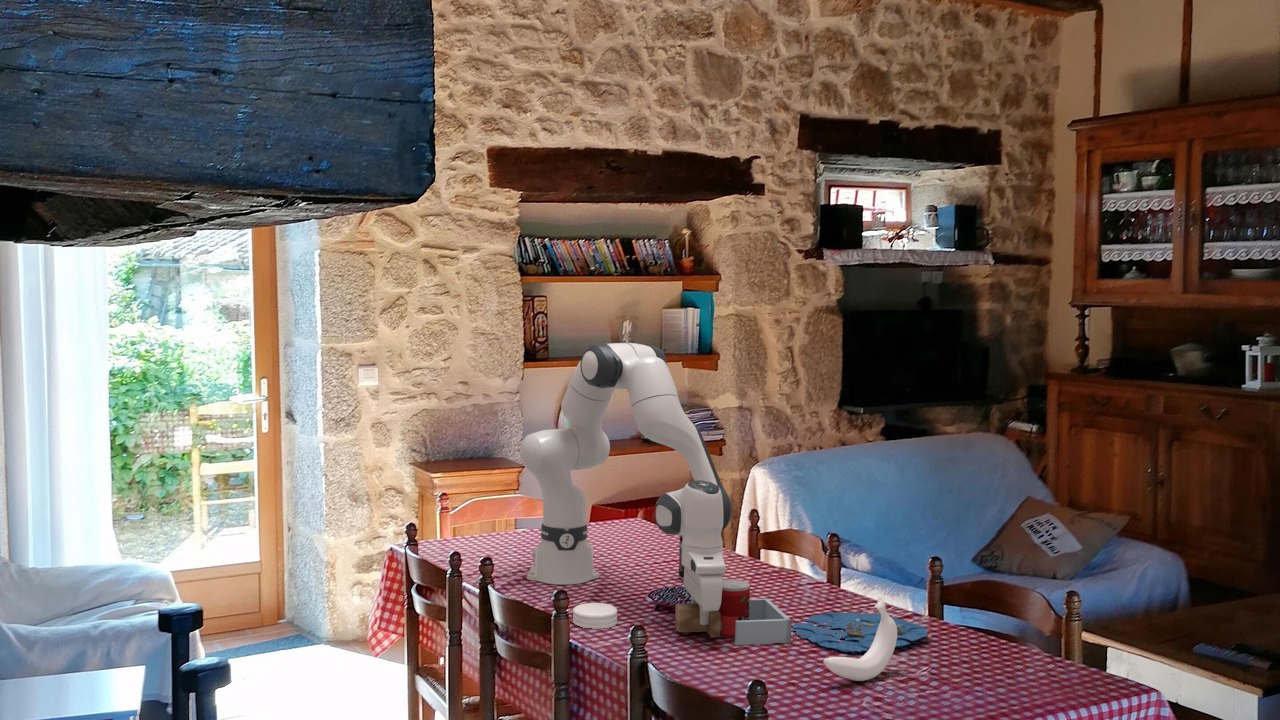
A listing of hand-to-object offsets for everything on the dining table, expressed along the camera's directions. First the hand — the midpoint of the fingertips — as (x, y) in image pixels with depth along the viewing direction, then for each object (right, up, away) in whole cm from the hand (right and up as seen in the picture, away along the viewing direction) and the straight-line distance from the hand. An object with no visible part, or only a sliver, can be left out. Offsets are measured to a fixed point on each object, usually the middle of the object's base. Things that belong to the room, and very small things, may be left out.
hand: (700, 620), depth 233 cm
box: (+12, -3, +2) cm, 12 cm away
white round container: (-23, -3, +7) cm, 24 cm away
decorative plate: (+35, -4, +3) cm, 35 cm away
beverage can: (0, -1, +47) cm, 47 cm away
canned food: (+7, -3, +1) cm, 8 cm away
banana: (+30, -5, -26) cm, 40 cm away
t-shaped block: (-2, -2, 0) cm, 3 cm away
